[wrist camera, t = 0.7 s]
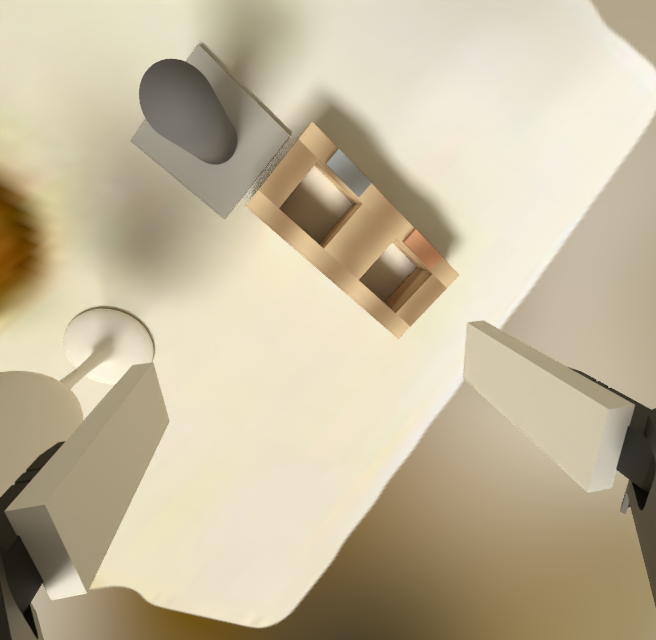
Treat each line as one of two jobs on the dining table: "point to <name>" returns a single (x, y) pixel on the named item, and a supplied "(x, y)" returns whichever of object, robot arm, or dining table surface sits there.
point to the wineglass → (64, 387)
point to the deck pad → (251, 153)
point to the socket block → (354, 233)
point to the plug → (187, 111)
